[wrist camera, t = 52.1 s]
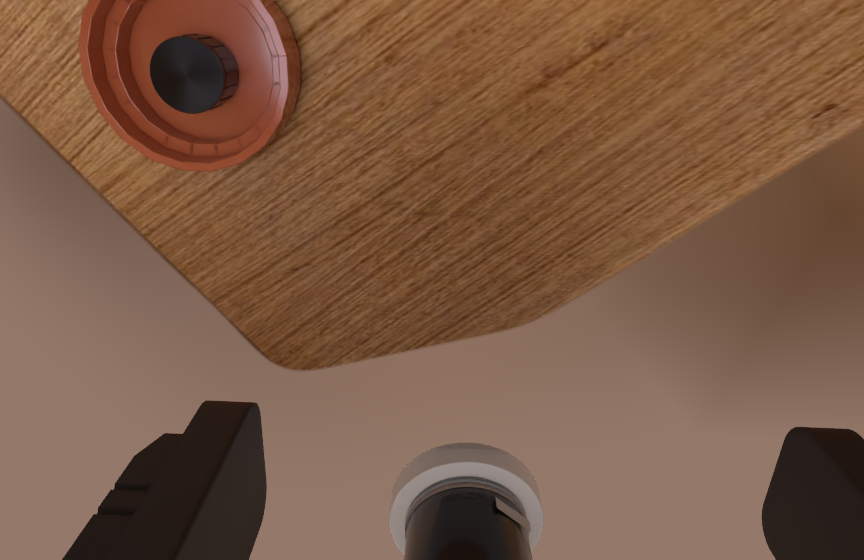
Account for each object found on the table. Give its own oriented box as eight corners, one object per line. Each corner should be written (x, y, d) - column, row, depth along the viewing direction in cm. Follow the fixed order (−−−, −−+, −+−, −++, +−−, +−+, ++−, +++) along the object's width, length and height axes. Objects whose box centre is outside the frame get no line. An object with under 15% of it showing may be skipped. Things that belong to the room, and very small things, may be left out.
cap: (249, 98, 36) (234, 104, 34) (185, 114, 37) (166, 121, 34) (225, 26, 35) (207, 27, 32) (159, 43, 35) (136, 46, 32)
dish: (306, 161, 38) (293, 175, 35) (128, 154, 38) (99, 167, 35) (297, -39, 34) (282, -44, 30) (96, -47, 34) (60, -53, 31)
